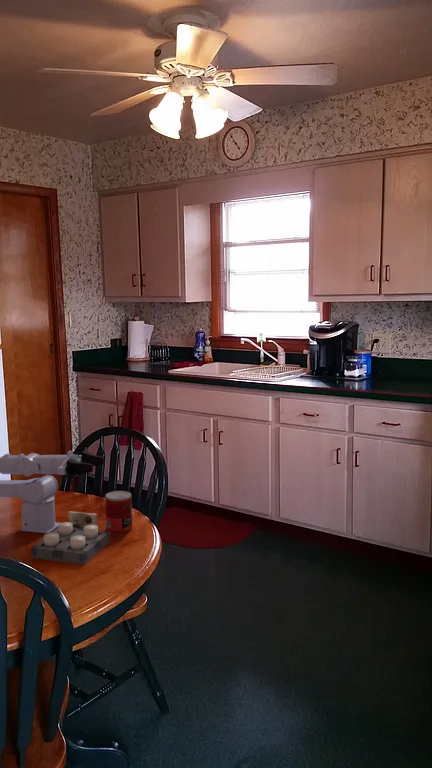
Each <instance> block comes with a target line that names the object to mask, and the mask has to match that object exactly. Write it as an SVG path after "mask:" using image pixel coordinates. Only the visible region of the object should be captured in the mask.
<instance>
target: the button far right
mask: <svg viewBox="0 0 432 768" xmlns="http://www.w3.org/2000/svg"><path fill="white" fill-rule="evenodd" d="M97 525H98V524H97ZM97 525H87V526H85V527H84V537H85V538H90V539H95V538H97V537H98V530H99V526H97Z"/></svg>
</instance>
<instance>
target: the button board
mask: <svg viewBox="0 0 432 768" xmlns="http://www.w3.org/2000/svg"><path fill="white" fill-rule="evenodd" d="M50 533H58V534H59V530H58V527H57V528H55V529H54V530H53V531H51V532H50ZM77 535H81V536H84V528H74V527H73V534H71V535H70V536H62V535H59V545H58V546H56V547H46V546H44V537H43V538H42V539H40V540H39V541H38V542H37V543H35V544H34V545H32V546H31V547H30V550H31V552H30V553H31V559H36V560H45V561H53V562H62V563H69V564H79V565H87V563H88V562H89V561H90V560H92V558H94V557H95V556H96V555H97V554H98V553H99V552H100V551H101V550H102V549H103V548H105V546H106V545H107V544H108V543H110V542H111V533H110V531H107V530H100V529H98V537H97V538H95V539H90V538H85V548H84V549H83V550H73V549H71V547H70V538H71V537H73V536H77Z"/></svg>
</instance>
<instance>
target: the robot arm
mask: <svg viewBox="0 0 432 768" xmlns="http://www.w3.org/2000/svg"><path fill="white" fill-rule="evenodd" d="M102 465H105V457H104V456H100V455H97V454H93V453H91V452H89V451H88V450H82V451H81V453H80V454H79V455H78V454H74V453H73V450H69V451H68V452H67V453H66V454H42V455H40V453H36V452H30V453H29V454H27V455H25V454H24V453H19V454H18V455H17V454H15V455H13V454H12V455H11V453H5V454H4V455H1V456H0V474H1V475H23V476H24V477H26V478H27V477H30V476H32V475H33V474H34V475H35V474H37V475H43V476H42V477H35V478H31V479H27V480H24V479H23V480H21V479H20V480H19V479H18V480H17V479H16V480H15V479H13V480H12V479H10V480H9V479H2V480H1V479H0V498H20V499H21V500H22V501H23V503H22V505H21V526H22V527H21V529H20V532H21V531H22V532H28V533H30V532H31V533H37V534H38V533H39V534H47V533H51V532H53V531H54V530H56V529H57V528H58V525H59V524H61V523H62V522H57V521H56V509H55V508H56V507H55V493H57V491H58V489H59V484H58V480H57V479H56V478H55V477H54V476H53V475H59V476H64V475H66V478H67V479H68V480H71V479H73V478H75V477H77V476H81V475H85V474H89V473H92V472H94V467H97V466H102Z"/></svg>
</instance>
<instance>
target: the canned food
mask: <svg viewBox="0 0 432 768" xmlns="http://www.w3.org/2000/svg"><path fill="white" fill-rule="evenodd" d="M104 497H105V498H104V499H105V500H104V501H105V528H106V531H110V534H115V535H116V534H118V535H119V534H126V533H128V532H130V531H131V530H132V528H133V508H132V507H133V506H132V505H133V502H132V500H133V499H132V493H131V492H129V491H125V490H114V491H110V492H107V493H105V496H104Z"/></svg>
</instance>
